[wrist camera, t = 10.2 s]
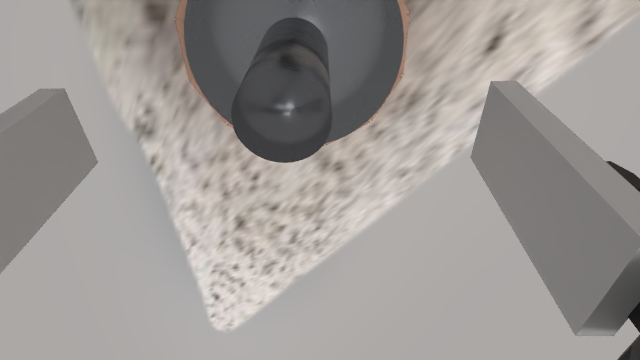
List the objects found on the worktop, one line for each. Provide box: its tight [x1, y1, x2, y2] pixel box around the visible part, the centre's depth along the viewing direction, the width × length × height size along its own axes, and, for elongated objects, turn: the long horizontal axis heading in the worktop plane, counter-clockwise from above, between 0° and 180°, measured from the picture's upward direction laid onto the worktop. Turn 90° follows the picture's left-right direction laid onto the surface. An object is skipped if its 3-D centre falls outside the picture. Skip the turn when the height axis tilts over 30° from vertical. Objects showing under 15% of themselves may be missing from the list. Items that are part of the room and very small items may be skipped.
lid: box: [184, 0, 404, 163], centre depth 17 cm, size 12×12×9 cm
